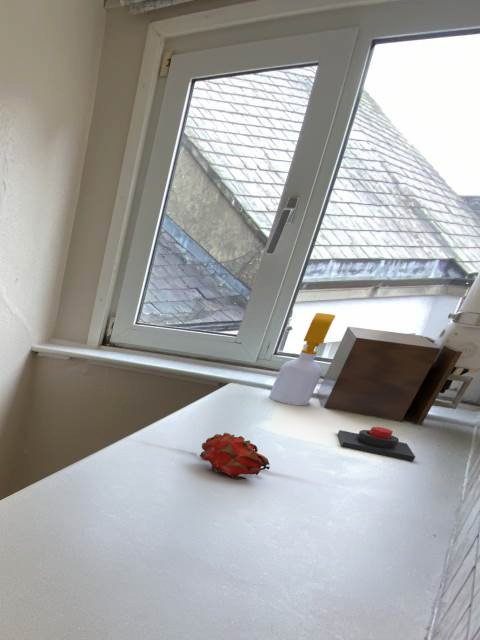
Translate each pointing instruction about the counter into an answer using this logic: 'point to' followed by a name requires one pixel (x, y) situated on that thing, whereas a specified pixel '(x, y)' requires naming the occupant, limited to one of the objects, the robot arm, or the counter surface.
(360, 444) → the red and black buzzer
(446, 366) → the door
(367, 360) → the cupboard
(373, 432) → the button
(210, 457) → the dragon fruit
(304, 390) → the soap bottle
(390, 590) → the counter surface
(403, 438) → the counter surface
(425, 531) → the counter surface
